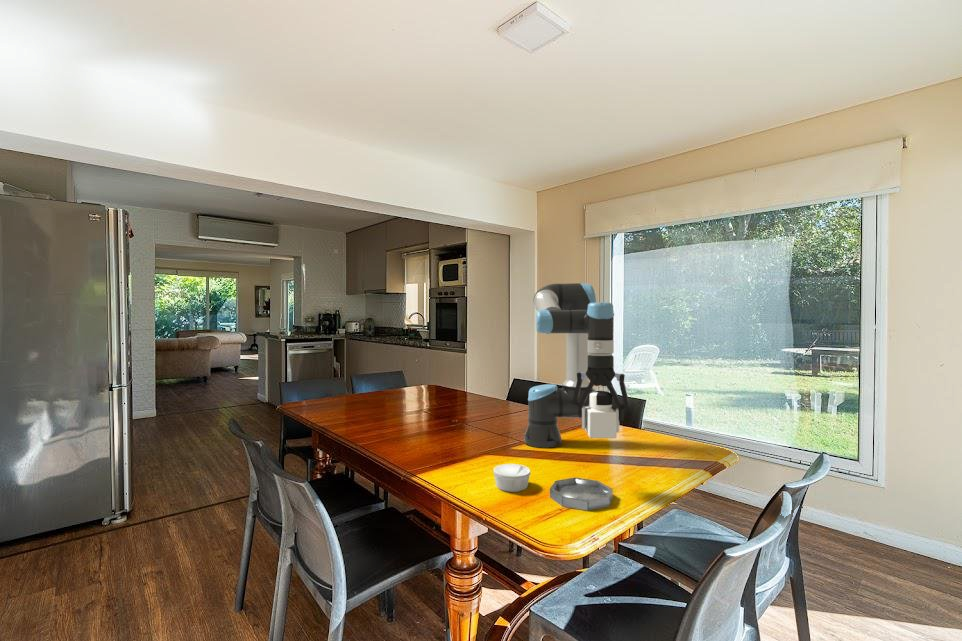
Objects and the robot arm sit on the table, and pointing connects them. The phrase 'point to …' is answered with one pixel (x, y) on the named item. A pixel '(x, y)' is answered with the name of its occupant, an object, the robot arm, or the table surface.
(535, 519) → the table surface
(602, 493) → the grey octagonal shallow tray
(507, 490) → the ramekin
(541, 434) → the robot arm
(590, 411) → the container
